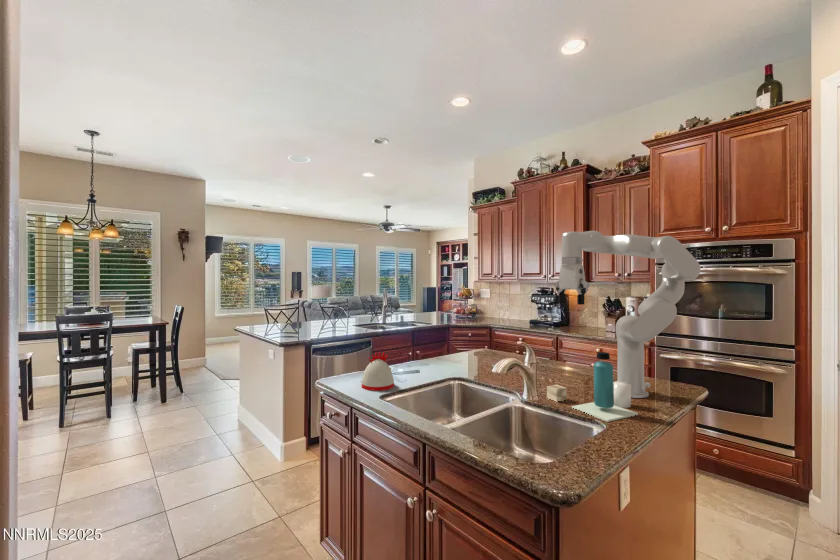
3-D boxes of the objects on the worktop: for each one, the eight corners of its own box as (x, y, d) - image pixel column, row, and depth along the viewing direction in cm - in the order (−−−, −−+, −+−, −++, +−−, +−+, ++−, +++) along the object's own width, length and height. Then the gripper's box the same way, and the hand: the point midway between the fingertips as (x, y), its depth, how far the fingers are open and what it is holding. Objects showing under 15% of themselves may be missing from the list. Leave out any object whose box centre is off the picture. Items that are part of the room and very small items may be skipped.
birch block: (556, 397, 151) (556, 384, 151) (566, 400, 146) (566, 387, 146) (546, 399, 149) (546, 386, 149) (556, 402, 144) (556, 389, 144)
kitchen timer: (396, 389, 161) (396, 353, 161) (363, 391, 157) (363, 355, 158) (391, 381, 174) (391, 348, 174) (360, 383, 171) (360, 349, 171)
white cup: (619, 401, 145) (619, 380, 145) (634, 406, 140) (634, 384, 140) (609, 403, 143) (609, 382, 143) (623, 408, 137) (623, 386, 137)
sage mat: (600, 402, 144) (600, 400, 144) (638, 415, 131) (638, 413, 131) (571, 407, 138) (571, 406, 138) (607, 421, 124) (607, 420, 124)
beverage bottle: (616, 413, 131) (616, 354, 131) (595, 411, 132) (595, 353, 132) (610, 407, 137) (610, 351, 137) (591, 405, 138) (591, 350, 138)
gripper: (595, 261, 152) (595, 304, 152) (562, 263, 167) (561, 302, 167) (581, 261, 148) (581, 305, 148) (549, 262, 164) (548, 302, 164)
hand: (571, 303), depth 158 cm, fingers open, 9 cm apart
